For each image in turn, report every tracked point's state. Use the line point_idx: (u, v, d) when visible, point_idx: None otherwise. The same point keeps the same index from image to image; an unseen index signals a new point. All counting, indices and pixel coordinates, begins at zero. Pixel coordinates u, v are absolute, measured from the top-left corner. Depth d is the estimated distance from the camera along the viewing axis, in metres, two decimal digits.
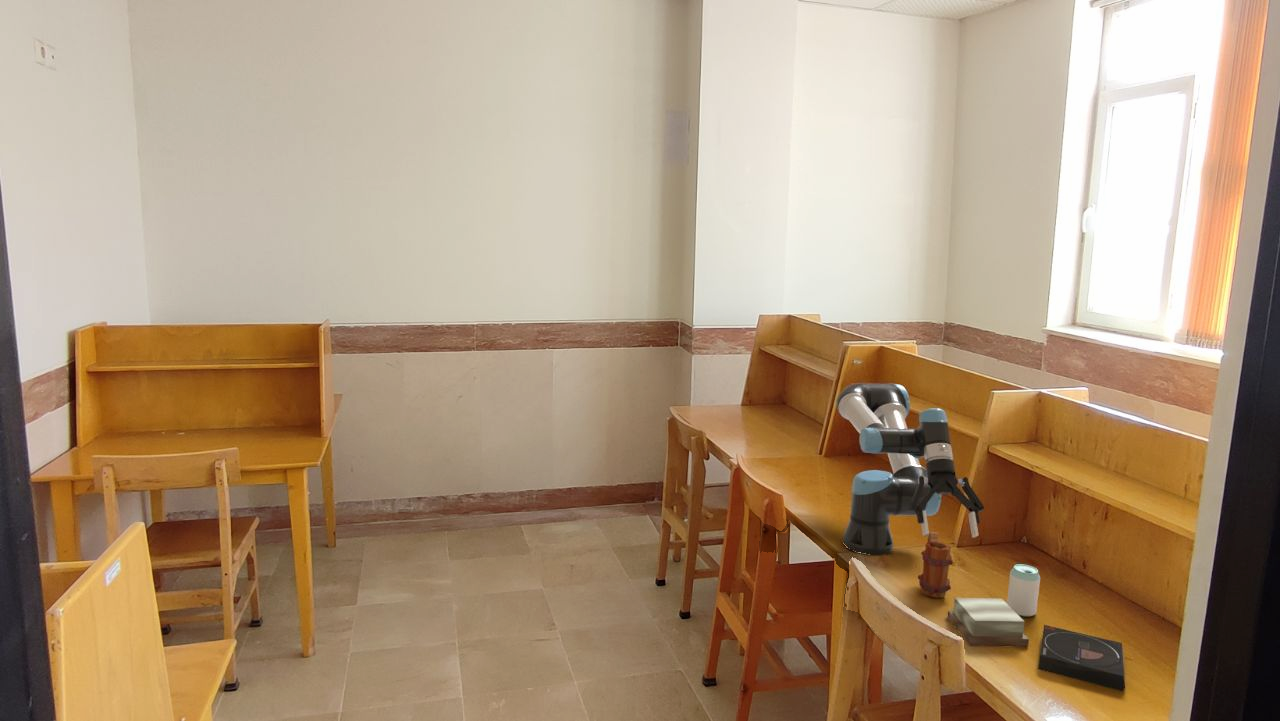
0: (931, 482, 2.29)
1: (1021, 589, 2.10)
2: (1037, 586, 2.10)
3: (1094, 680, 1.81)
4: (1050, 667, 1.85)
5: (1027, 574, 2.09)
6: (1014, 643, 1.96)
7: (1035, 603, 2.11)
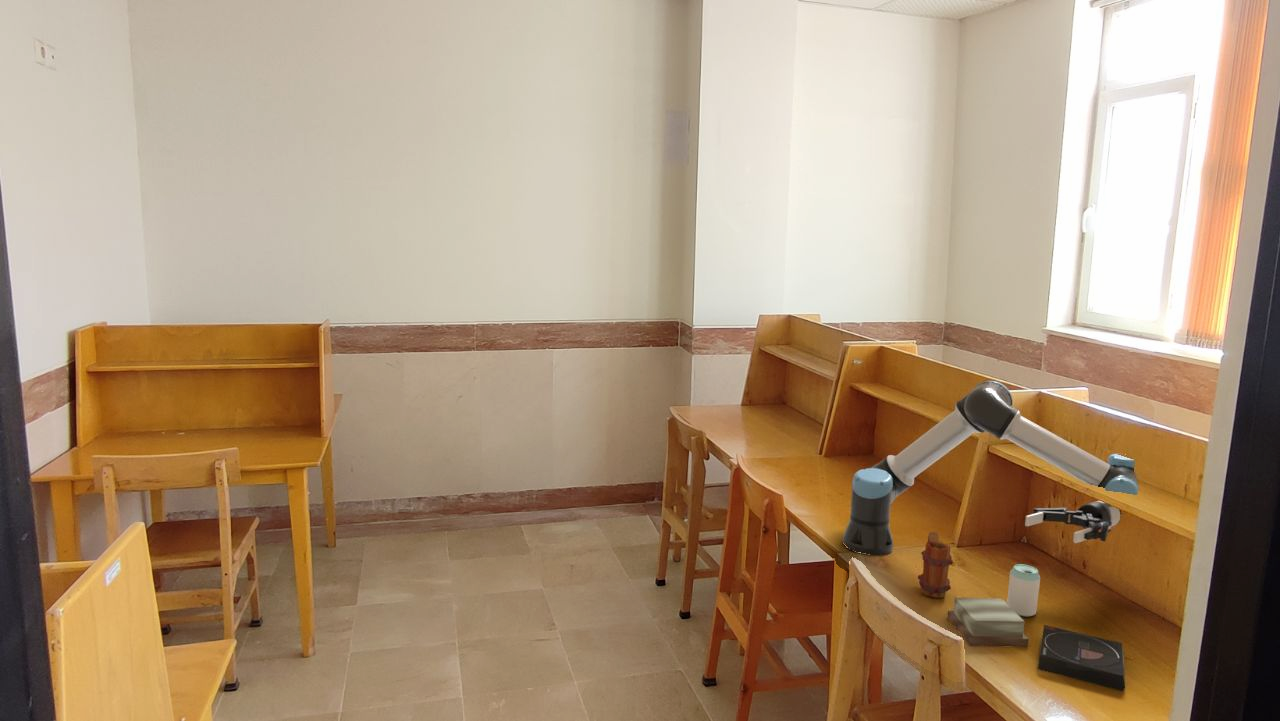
0: (1096, 527, 2.19)
1: (1021, 589, 2.10)
2: (1037, 586, 2.10)
3: (1094, 680, 1.81)
4: (1050, 667, 1.85)
5: (1027, 574, 2.09)
6: (1014, 643, 1.96)
7: (1035, 603, 2.11)
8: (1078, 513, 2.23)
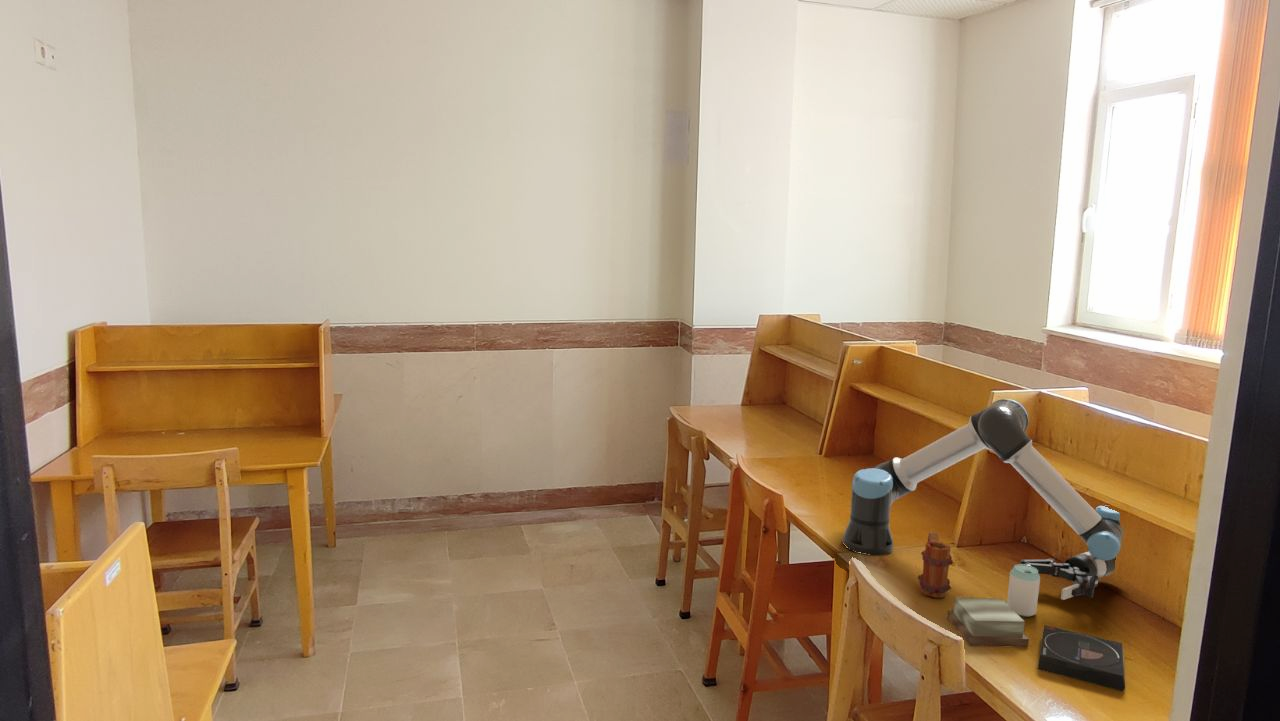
0: (1082, 581, 2.20)
1: (1021, 589, 2.10)
2: (1037, 586, 2.10)
3: (1094, 680, 1.81)
4: (1049, 667, 1.85)
5: (1027, 574, 2.09)
6: (1014, 643, 1.96)
7: (1035, 603, 2.11)
8: (1065, 566, 2.23)
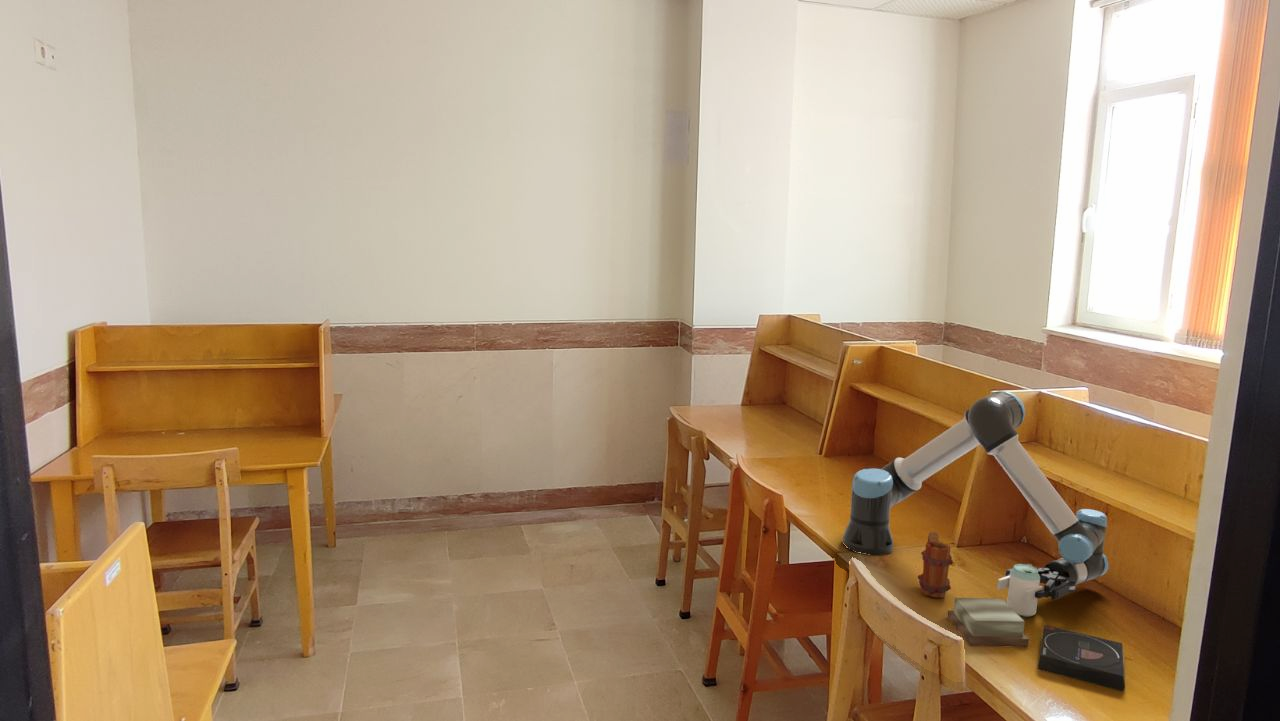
0: None
1: (1021, 589, 2.10)
2: (1037, 586, 2.10)
3: (1094, 680, 1.81)
4: (1049, 667, 1.85)
5: (1027, 574, 2.09)
6: (1014, 643, 1.96)
7: (1035, 603, 2.11)
8: (1046, 571, 2.19)
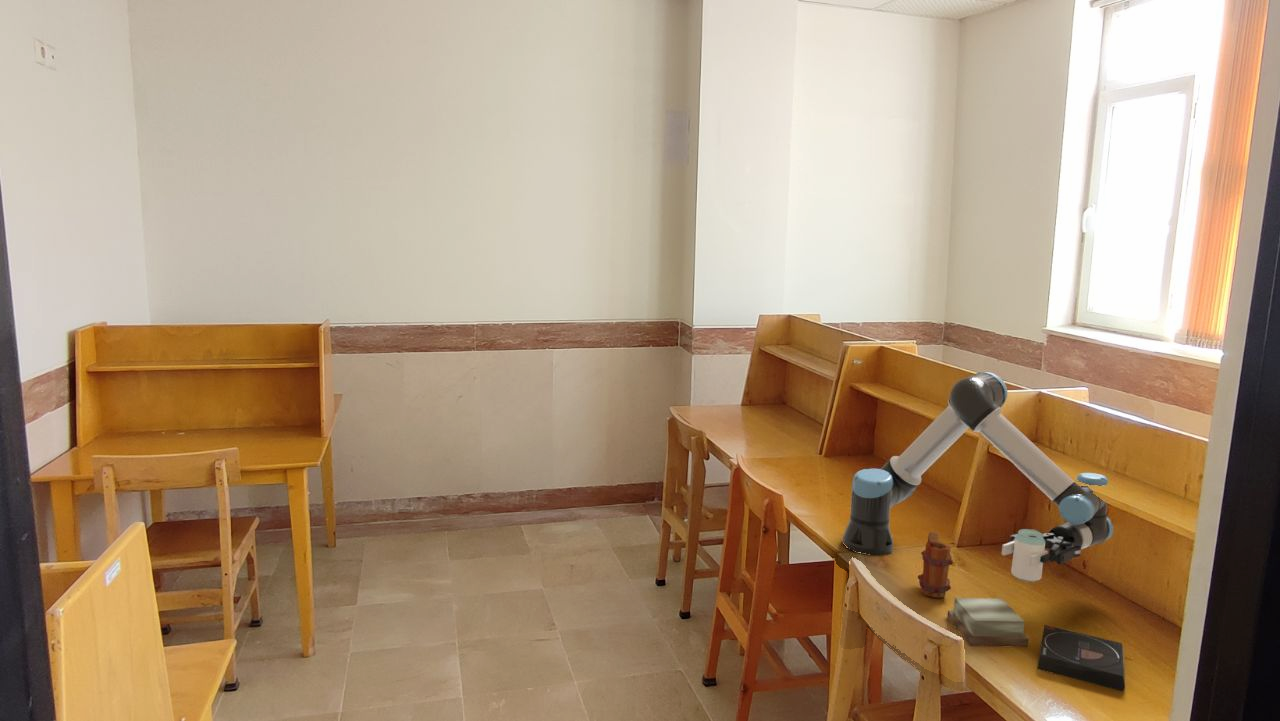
0: None
1: (1026, 554, 2.07)
2: None
3: (1094, 680, 1.81)
4: (1049, 667, 1.85)
5: (1032, 538, 2.07)
6: (1014, 643, 1.96)
7: (1040, 568, 2.08)
8: (1051, 536, 2.16)
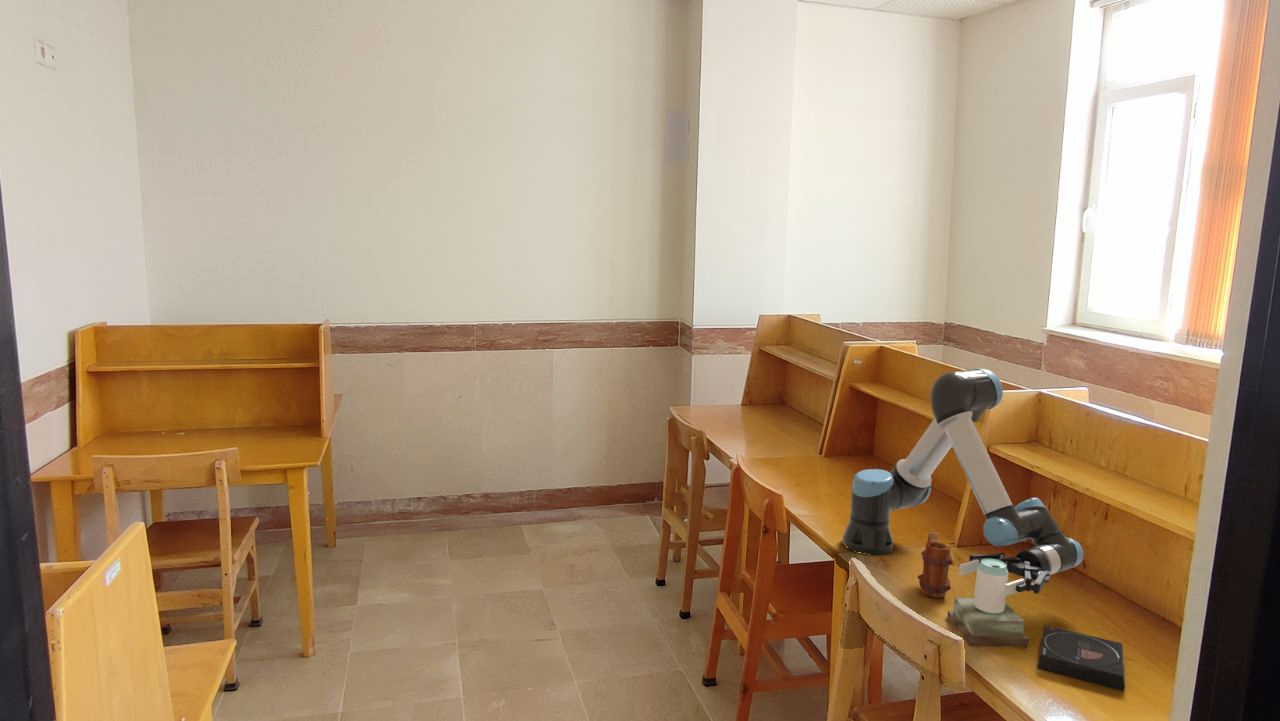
0: (1033, 576, 2.03)
1: (988, 585, 1.98)
2: (1005, 581, 1.98)
3: (1094, 680, 1.81)
4: (1049, 667, 1.85)
5: (994, 569, 1.97)
6: (1014, 643, 1.96)
7: (1003, 600, 1.99)
8: (1016, 560, 2.07)
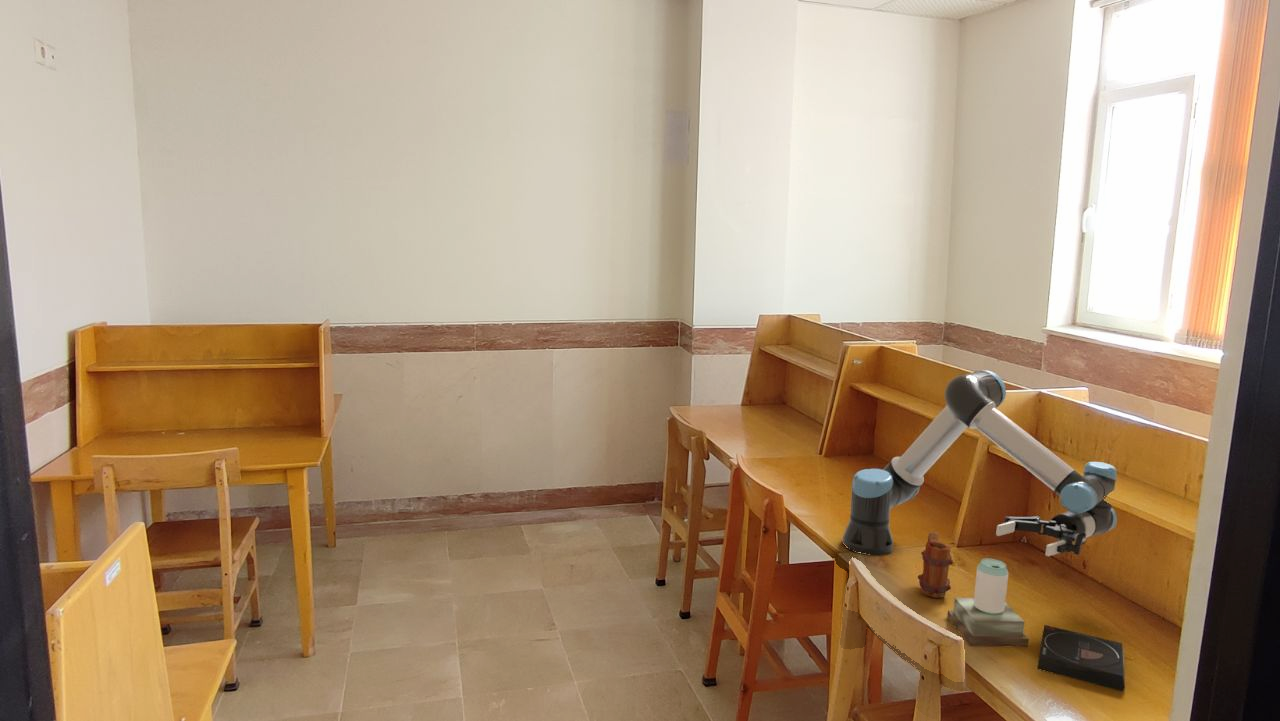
0: (1069, 539, 2.09)
1: (988, 585, 1.98)
2: (1005, 582, 1.98)
3: (1094, 680, 1.81)
4: (1049, 667, 1.85)
5: (994, 569, 1.97)
6: (1014, 643, 1.96)
7: (1003, 600, 1.99)
8: (1051, 523, 2.12)
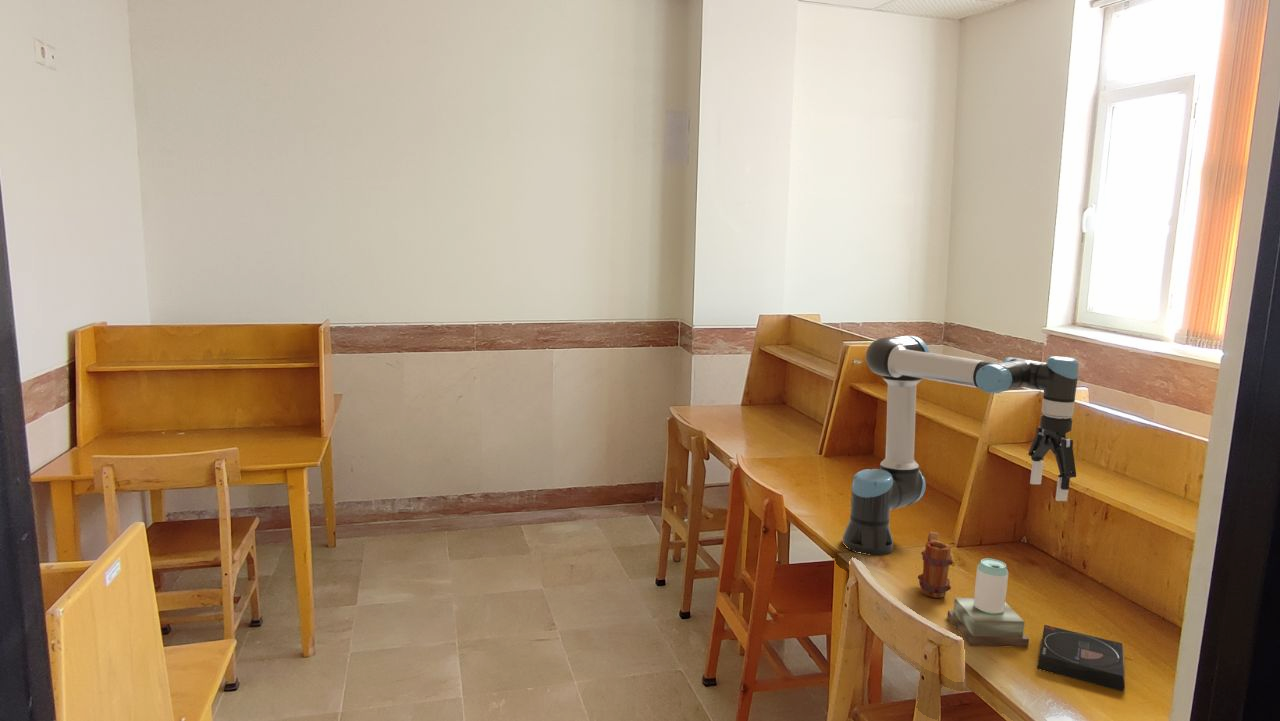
0: None
1: (988, 585, 1.98)
2: (1005, 582, 1.98)
3: (1094, 680, 1.81)
4: (1049, 667, 1.85)
5: (994, 569, 1.97)
6: (1014, 643, 1.96)
7: (1003, 600, 1.99)
8: (1046, 440, 2.20)
